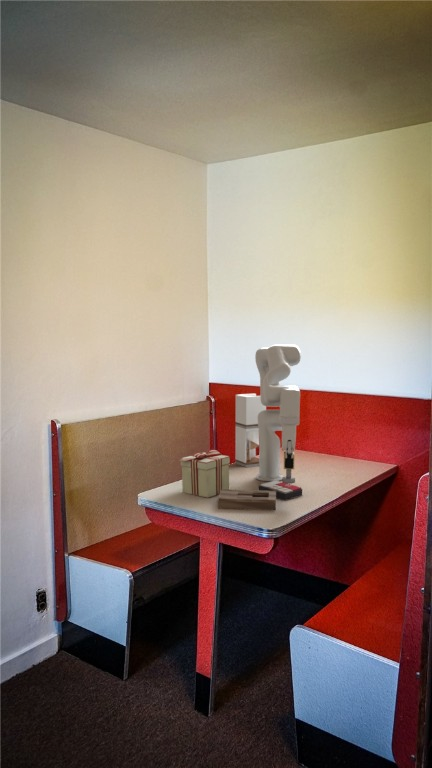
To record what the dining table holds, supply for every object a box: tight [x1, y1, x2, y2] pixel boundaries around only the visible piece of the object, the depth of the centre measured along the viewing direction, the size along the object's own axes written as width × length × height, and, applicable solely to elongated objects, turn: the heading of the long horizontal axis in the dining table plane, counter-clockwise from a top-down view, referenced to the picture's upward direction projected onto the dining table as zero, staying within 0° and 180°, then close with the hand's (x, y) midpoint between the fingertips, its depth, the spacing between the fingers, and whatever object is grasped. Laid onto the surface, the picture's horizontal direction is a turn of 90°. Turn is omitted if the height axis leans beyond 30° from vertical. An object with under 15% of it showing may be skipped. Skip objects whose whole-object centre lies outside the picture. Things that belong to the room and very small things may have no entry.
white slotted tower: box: [234, 393, 267, 468], centre depth 309 cm, size 11×11×35 cm
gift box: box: [177, 449, 231, 499], centre depth 259 cm, size 17×18×17 cm
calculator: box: [258, 480, 303, 501], centre depth 256 cm, size 11×4×15 cm
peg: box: [281, 451, 296, 485], centre depth 239 cm, size 5×5×12 cm
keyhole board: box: [217, 489, 277, 511], centre depth 241 cm, size 13×22×4 cm, turn 84°
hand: (288, 466), depth 239 cm, fingers closed on peg, 4 cm apart
